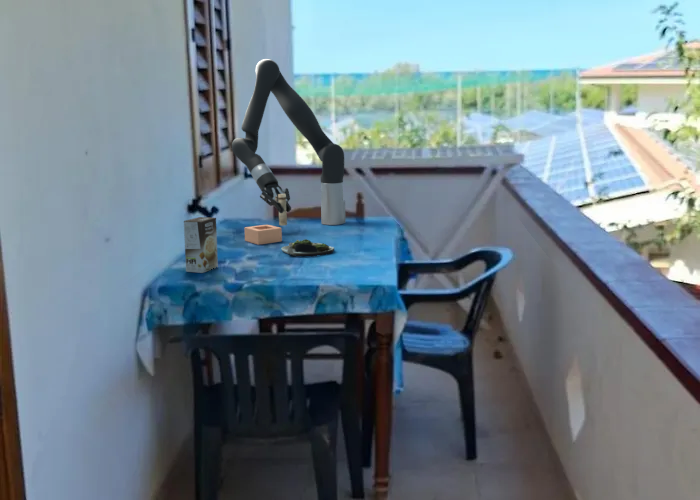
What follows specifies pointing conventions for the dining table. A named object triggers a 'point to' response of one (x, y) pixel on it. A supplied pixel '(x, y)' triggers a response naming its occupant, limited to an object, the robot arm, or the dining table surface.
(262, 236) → the orange square ring
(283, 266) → the dining table surface
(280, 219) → the birch peg
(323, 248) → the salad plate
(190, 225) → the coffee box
